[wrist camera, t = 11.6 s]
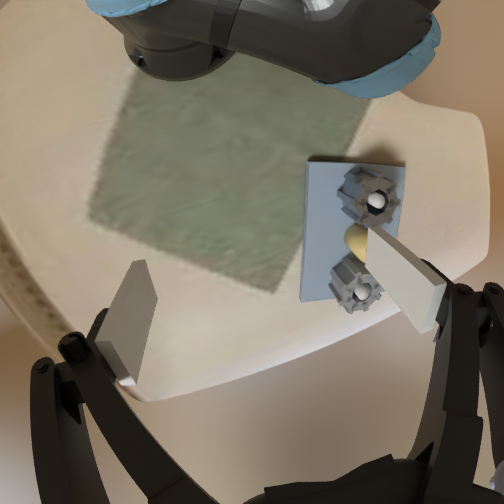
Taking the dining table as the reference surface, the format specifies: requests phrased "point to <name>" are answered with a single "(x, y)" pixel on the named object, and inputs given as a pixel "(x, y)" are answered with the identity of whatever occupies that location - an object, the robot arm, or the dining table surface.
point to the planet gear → (358, 193)
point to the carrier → (340, 237)
